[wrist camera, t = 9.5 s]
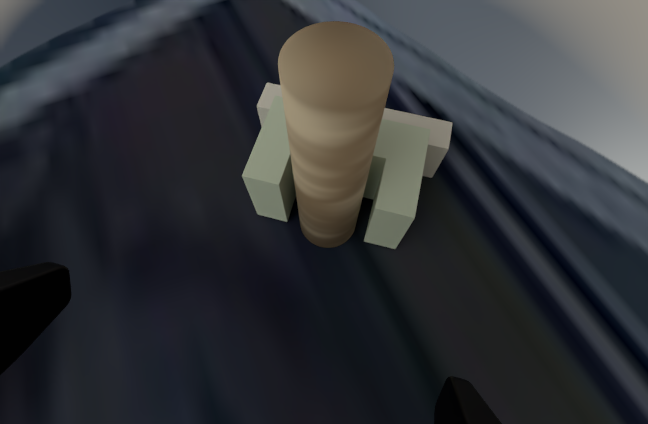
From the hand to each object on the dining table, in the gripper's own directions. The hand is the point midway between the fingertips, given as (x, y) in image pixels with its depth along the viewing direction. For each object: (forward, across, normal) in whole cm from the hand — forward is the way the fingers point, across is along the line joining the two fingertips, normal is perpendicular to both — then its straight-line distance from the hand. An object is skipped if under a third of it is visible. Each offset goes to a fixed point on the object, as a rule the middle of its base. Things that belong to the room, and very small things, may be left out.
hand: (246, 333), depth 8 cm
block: (+16, 0, +2) cm, 16 cm away
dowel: (+15, 0, +3) cm, 15 cm away
